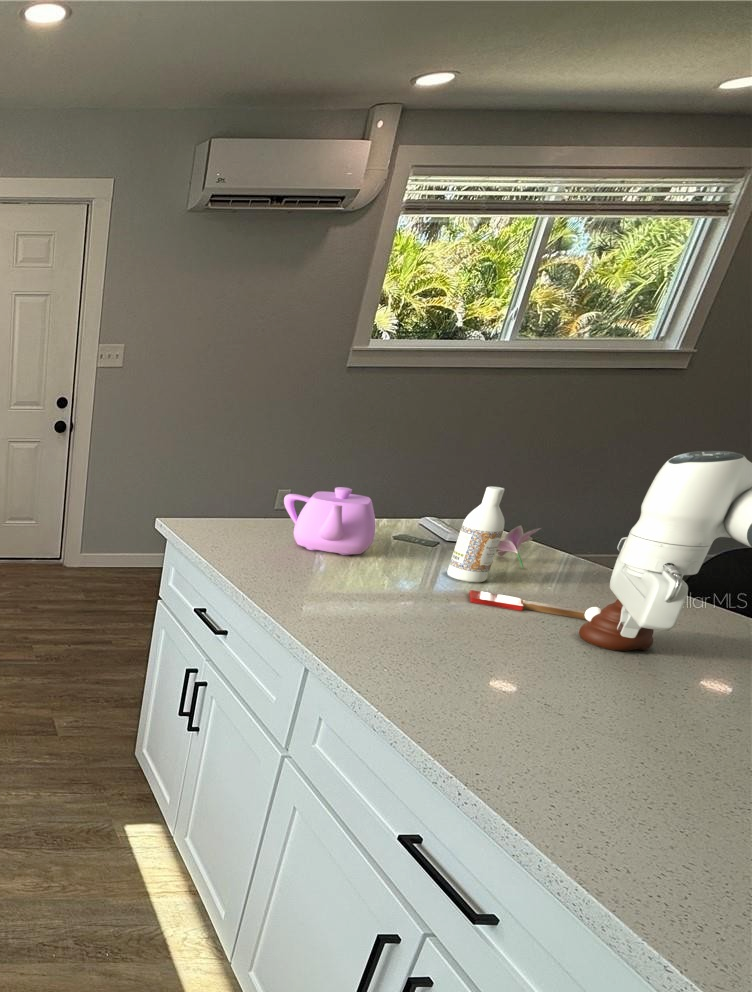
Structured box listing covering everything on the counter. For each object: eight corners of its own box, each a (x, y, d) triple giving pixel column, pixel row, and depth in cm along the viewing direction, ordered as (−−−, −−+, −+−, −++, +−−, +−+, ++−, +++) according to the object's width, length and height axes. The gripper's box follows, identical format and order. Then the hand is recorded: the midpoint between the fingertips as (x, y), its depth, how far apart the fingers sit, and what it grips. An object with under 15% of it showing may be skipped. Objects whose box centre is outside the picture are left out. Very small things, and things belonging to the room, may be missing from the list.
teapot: (281, 531, 172) (292, 476, 166) (372, 544, 161) (387, 486, 155) (265, 554, 155) (277, 493, 149) (365, 570, 144) (382, 505, 138)
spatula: (614, 618, 119) (617, 612, 119) (621, 628, 115) (623, 622, 115) (468, 594, 131) (470, 588, 130) (470, 602, 127) (472, 596, 126)
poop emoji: (611, 655, 106) (634, 604, 102) (561, 633, 114) (581, 584, 110) (664, 652, 107) (689, 601, 103) (611, 630, 115) (632, 582, 111)
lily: (534, 564, 149) (523, 525, 150) (564, 560, 138) (552, 518, 139) (474, 576, 153) (464, 537, 154) (499, 573, 142) (488, 532, 143)
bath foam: (468, 584, 135) (499, 492, 128) (438, 573, 142) (466, 485, 134) (493, 581, 137) (526, 490, 129) (463, 570, 143) (492, 483, 135)
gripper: (714, 579, 90) (671, 664, 95) (669, 542, 106) (635, 617, 111) (652, 571, 93) (614, 654, 99) (617, 536, 109) (586, 609, 114)
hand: (625, 634), depth 105 cm, fingers closed
